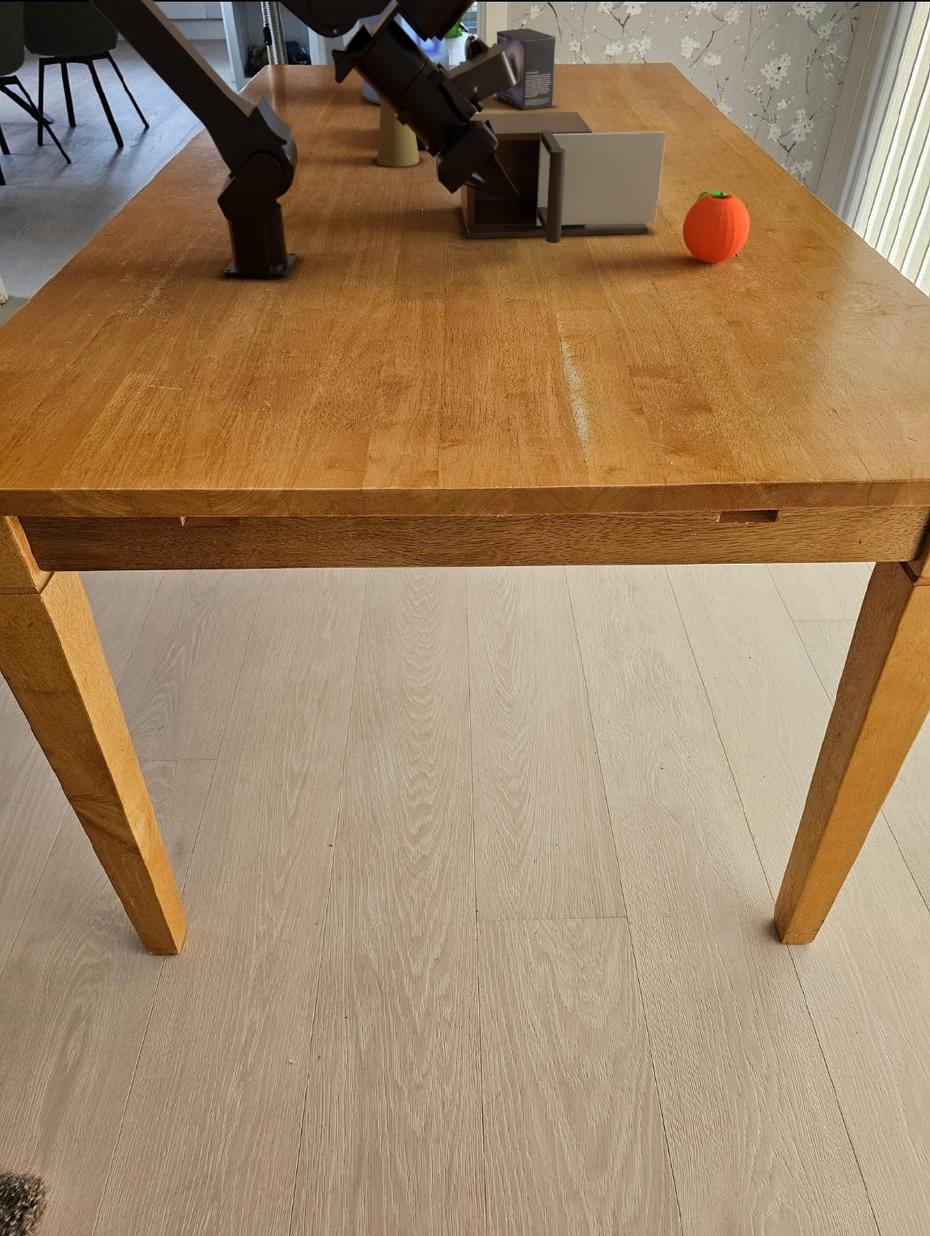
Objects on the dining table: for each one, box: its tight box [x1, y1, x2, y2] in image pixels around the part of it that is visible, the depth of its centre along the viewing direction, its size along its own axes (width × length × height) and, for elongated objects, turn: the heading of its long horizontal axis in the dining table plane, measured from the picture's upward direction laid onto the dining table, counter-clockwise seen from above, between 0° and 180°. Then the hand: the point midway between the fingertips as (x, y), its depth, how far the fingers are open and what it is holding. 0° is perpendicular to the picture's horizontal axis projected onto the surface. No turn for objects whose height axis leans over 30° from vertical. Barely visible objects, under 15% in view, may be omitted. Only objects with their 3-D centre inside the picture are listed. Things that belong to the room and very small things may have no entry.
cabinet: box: [460, 111, 649, 239], centre depth 110 cm, size 21×12×10 cm, turn 94°
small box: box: [495, 27, 557, 110], centre depth 162 cm, size 11×6×10 cm, turn 25°
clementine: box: [682, 190, 751, 264], centre depth 100 cm, size 8×7×7 cm
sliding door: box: [536, 130, 667, 244], centre depth 103 cm, size 14×10×10 cm
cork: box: [376, 94, 420, 168], centre depth 131 cm, size 6×6×11 cm
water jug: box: [358, 0, 450, 105], centre depth 159 cm, size 16×16×28 cm
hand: (516, 199), depth 99 cm, fingers closed
